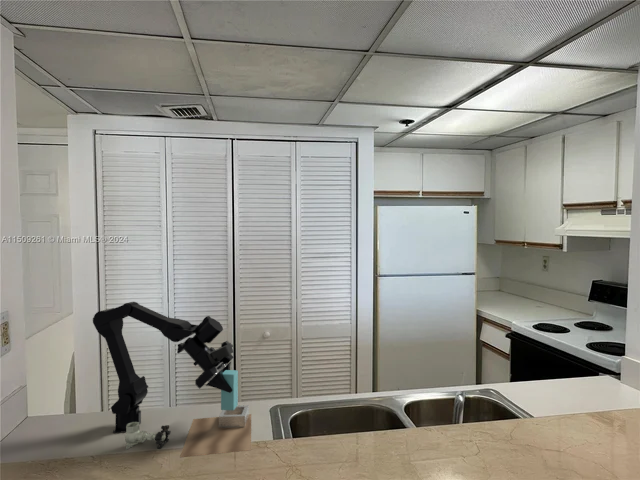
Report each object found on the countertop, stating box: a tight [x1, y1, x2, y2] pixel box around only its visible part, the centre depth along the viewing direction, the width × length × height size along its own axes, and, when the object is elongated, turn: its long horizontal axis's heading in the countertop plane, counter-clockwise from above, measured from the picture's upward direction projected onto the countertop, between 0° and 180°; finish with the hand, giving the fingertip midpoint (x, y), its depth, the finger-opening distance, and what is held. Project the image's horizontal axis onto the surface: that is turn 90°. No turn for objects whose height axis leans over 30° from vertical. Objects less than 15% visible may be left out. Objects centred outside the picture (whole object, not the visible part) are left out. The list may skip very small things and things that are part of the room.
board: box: [179, 413, 252, 458], centre depth 112 cm, size 19×23×1 cm
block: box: [220, 369, 239, 411], centre depth 115 cm, size 4×4×11 cm
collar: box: [218, 404, 250, 428], centre depth 120 cm, size 8×8×4 cm
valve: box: [124, 422, 171, 451], centre depth 106 cm, size 7×7×12 cm
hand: (233, 389), depth 115 cm, fingers closed on block, 4 cm apart
